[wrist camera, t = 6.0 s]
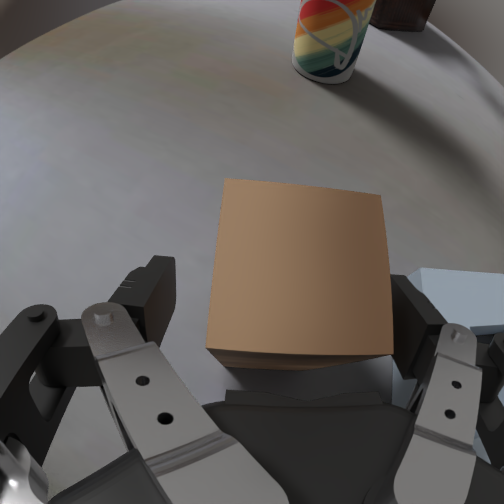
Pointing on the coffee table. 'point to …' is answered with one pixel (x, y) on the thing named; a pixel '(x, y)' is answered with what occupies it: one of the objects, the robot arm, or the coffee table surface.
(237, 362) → the peg
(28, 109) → the coffee table surface
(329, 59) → the lotion bottle
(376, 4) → the manual coffee grinder
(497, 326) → the socket
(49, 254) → the coffee table surface
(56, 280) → the coffee table surface
